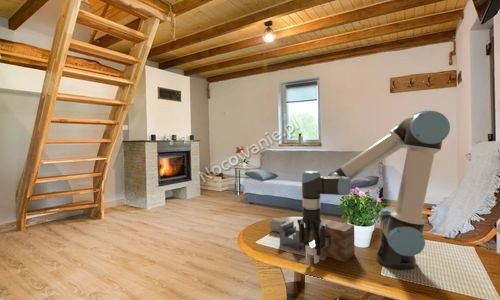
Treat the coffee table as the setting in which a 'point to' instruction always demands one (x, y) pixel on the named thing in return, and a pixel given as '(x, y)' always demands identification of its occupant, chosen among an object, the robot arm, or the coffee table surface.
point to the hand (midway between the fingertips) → (312, 260)
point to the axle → (311, 246)
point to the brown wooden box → (338, 240)
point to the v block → (290, 236)
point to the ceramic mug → (276, 224)
